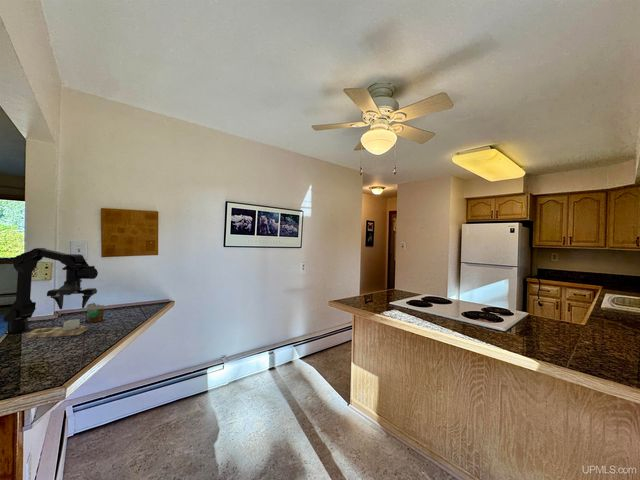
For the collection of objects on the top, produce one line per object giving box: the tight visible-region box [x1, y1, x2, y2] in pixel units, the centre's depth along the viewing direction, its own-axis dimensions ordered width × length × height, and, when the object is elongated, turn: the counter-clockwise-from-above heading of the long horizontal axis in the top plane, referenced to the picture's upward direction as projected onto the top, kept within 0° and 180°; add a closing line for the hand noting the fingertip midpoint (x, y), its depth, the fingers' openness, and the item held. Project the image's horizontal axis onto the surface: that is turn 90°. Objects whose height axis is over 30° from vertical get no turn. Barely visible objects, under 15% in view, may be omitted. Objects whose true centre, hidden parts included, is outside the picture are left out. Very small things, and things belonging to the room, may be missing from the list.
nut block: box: [62, 318, 81, 331], centre depth 138 cm, size 5×5×6 cm
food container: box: [85, 302, 105, 324], centre depth 158 cm, size 12×6×10 cm, turn 62°
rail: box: [24, 325, 89, 339], centre depth 136 cm, size 21×9×2 cm, turn 109°
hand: (72, 308), depth 138 cm, fingers open, 9 cm apart
